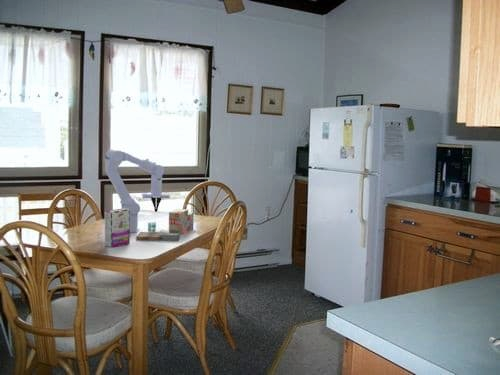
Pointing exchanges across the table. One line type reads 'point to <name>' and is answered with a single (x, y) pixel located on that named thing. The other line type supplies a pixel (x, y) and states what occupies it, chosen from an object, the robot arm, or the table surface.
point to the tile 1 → (164, 232)
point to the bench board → (148, 236)
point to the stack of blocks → (181, 221)
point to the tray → (171, 236)
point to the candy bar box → (117, 227)
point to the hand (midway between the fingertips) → (156, 211)
